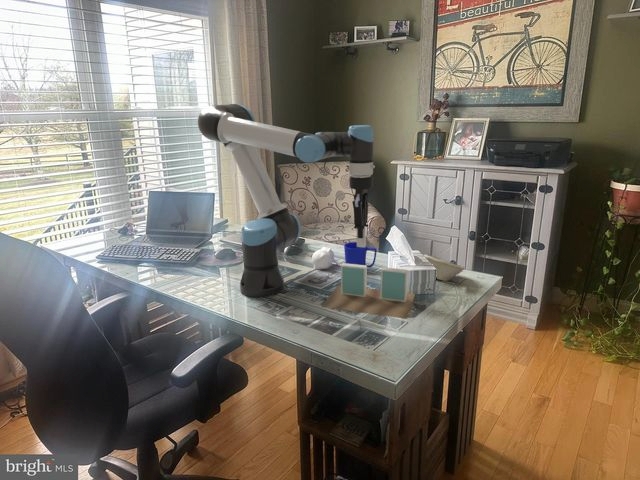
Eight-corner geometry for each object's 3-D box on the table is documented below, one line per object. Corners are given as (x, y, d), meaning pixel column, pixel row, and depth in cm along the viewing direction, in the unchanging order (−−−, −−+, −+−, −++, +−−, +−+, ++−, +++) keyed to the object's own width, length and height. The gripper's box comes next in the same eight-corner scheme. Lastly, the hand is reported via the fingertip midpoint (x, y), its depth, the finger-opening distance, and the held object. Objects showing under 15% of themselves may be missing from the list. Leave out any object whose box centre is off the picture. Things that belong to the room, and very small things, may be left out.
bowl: (472, 282, 156) (474, 255, 153) (443, 291, 149) (445, 263, 146) (440, 269, 169) (442, 244, 166) (412, 277, 162) (413, 250, 159)
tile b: (380, 299, 141) (381, 269, 138) (381, 296, 143) (382, 267, 140) (405, 302, 139) (407, 272, 136) (406, 299, 141) (408, 269, 138)
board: (321, 310, 137) (321, 306, 137) (338, 287, 153) (338, 284, 153) (406, 322, 129) (406, 318, 128) (415, 297, 145) (415, 293, 145)
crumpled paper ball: (325, 239, 176) (316, 247, 165) (347, 255, 175) (340, 264, 164) (313, 256, 179) (304, 265, 168) (335, 271, 178) (327, 282, 167)
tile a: (341, 294, 146) (340, 265, 143) (342, 291, 148) (342, 263, 145) (364, 297, 143) (365, 267, 140) (366, 294, 145) (366, 265, 142)
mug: (375, 275, 164) (375, 249, 161) (342, 273, 166) (342, 248, 163) (377, 267, 171) (377, 242, 168) (345, 266, 174) (345, 241, 171)
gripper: (368, 179, 134) (367, 253, 141) (377, 172, 146) (376, 241, 153) (344, 178, 137) (344, 251, 144) (355, 172, 148) (355, 240, 155)
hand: (361, 246), depth 148 cm, fingers closed
